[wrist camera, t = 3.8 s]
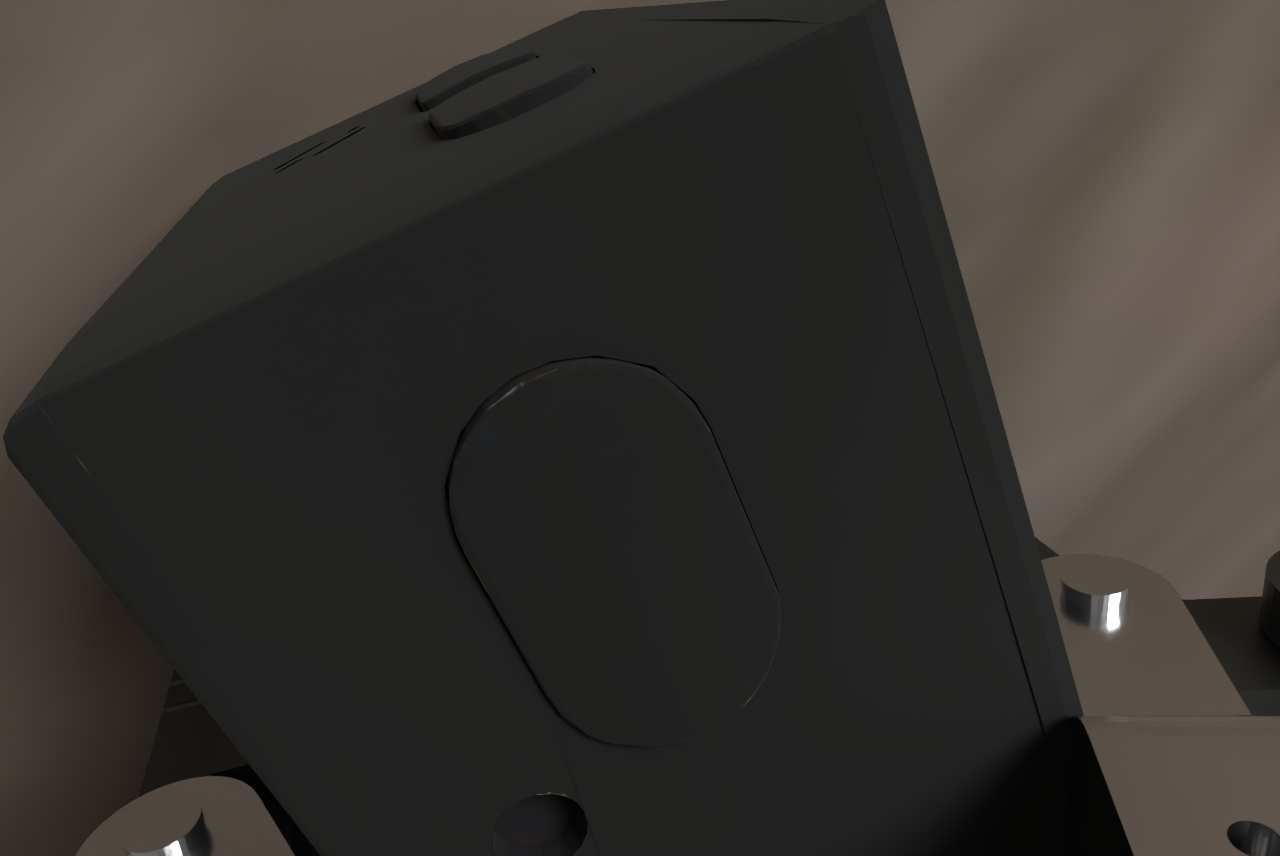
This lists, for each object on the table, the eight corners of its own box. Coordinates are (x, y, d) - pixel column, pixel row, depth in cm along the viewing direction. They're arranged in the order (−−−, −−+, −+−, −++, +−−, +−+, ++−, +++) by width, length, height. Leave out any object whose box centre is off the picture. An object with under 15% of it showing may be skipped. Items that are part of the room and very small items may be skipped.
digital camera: (83, 225, 10) (-346, 550, 4) (574, -2, 11) (894, -34, 4) (526, 888, 15) (654, 1539, 8) (861, 711, 15) (1224, 1205, 9)
